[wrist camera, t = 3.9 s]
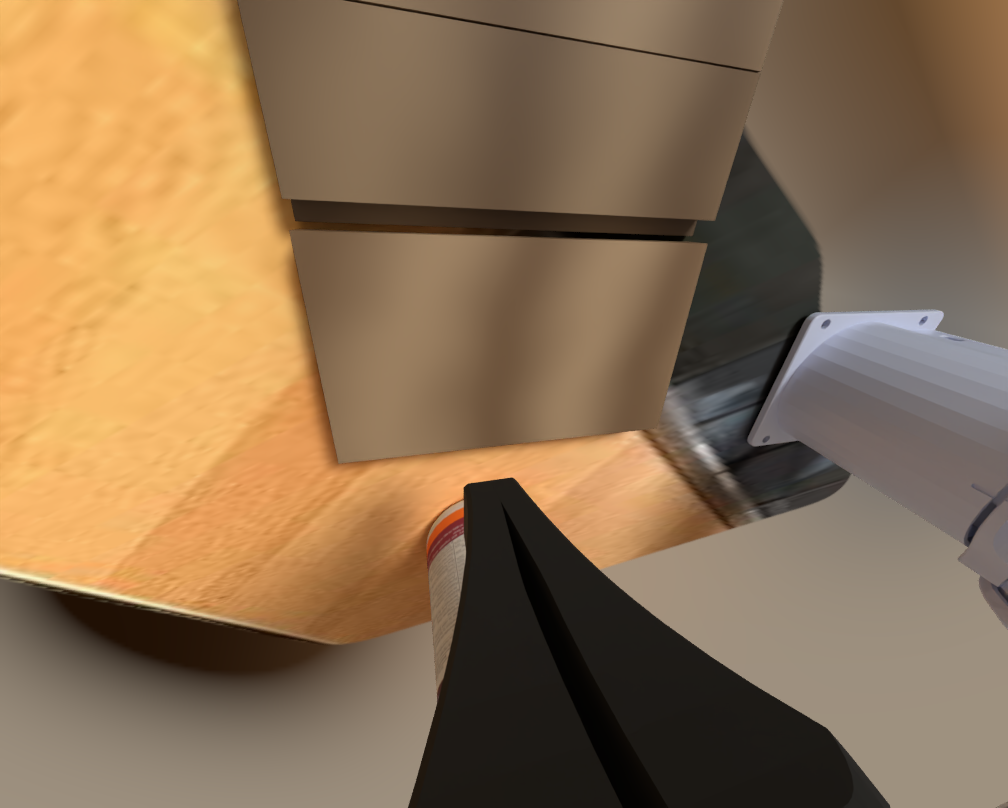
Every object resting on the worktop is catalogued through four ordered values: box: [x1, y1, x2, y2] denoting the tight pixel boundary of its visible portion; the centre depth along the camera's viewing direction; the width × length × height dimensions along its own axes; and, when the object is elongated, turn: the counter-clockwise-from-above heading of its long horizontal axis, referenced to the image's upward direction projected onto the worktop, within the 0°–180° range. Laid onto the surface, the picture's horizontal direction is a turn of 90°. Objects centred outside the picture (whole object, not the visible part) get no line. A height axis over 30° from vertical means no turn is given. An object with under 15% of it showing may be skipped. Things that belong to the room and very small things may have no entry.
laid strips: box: [237, 0, 783, 236], centre depth 10 cm, size 14×9×1 cm, turn 87°
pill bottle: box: [427, 500, 466, 702], centre depth 15 cm, size 6×6×11 cm
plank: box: [289, 229, 707, 464], centre depth 14 cm, size 14×8×1 cm, turn 87°
